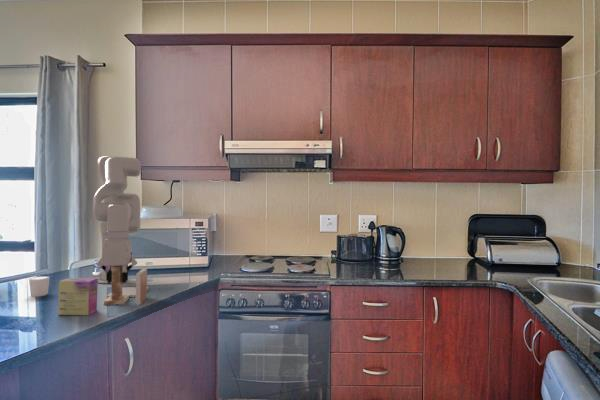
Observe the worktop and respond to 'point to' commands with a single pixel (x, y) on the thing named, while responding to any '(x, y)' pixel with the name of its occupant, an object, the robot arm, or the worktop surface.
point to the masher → (116, 287)
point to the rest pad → (127, 291)
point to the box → (77, 296)
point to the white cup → (39, 286)
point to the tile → (141, 285)
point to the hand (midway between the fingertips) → (117, 281)
